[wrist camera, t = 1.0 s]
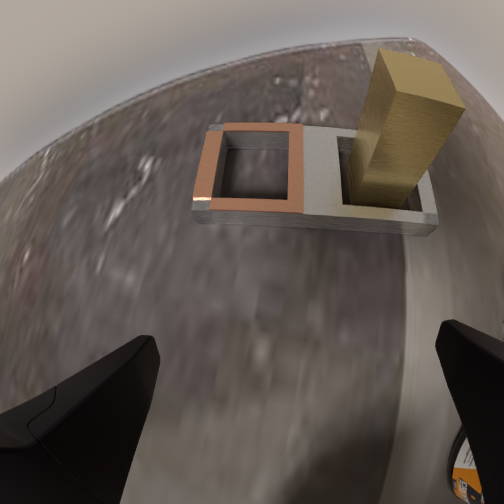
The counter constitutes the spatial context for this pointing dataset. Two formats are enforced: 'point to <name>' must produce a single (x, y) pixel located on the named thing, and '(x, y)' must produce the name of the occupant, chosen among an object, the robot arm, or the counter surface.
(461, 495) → the supplement container
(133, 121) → the counter surface
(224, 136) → the divided tray
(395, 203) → the tan block
